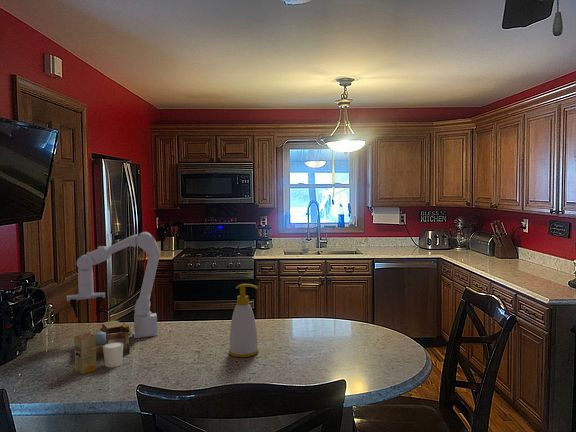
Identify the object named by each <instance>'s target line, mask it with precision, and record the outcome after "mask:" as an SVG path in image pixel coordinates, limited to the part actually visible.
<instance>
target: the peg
mask: <svg viewBox="0 0 576 432" xmlns="http://www.w3.org/2000/svg"><path fill="white" fill-rule="evenodd" d="M94 335H95V341H96V346H101V345H105V344H106V332H102V331H98V332H95V333H94Z"/></svg>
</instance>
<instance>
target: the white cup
mask: <svg viewBox="0 0 576 432" xmlns="http://www.w3.org/2000/svg"><path fill="white" fill-rule="evenodd" d="M103 353H104V357H103V358H104V365H105V367H106V368H116V367H119V366H121V365H122V364H123V356H124V355H123V343H120V342H113V343H108V344H105V345H104V346H103Z"/></svg>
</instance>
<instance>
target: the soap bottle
mask: <svg viewBox="0 0 576 432" xmlns="http://www.w3.org/2000/svg"><path fill="white" fill-rule="evenodd" d="M246 287H247V288H248V287H250V288H254V289H255V290H258V289H259V287H258V286H257V285H256V284H253V283H240V284H238V285H237V286H235V289H239V295H237V297H236V298H237V299H236V305H235V307H234V309H233V312H232V317H231V323H230V324H231V325H230V330H229V331H230V333H229V350H228V354H229V355H230V356H232V357H236V358H249V357H252V356H255V355H257V354H258V353H259V348H258V334H257V325H256V319H255V315H254V311H253V309H252V305H250V300H249V295H247V294H246Z"/></svg>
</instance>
